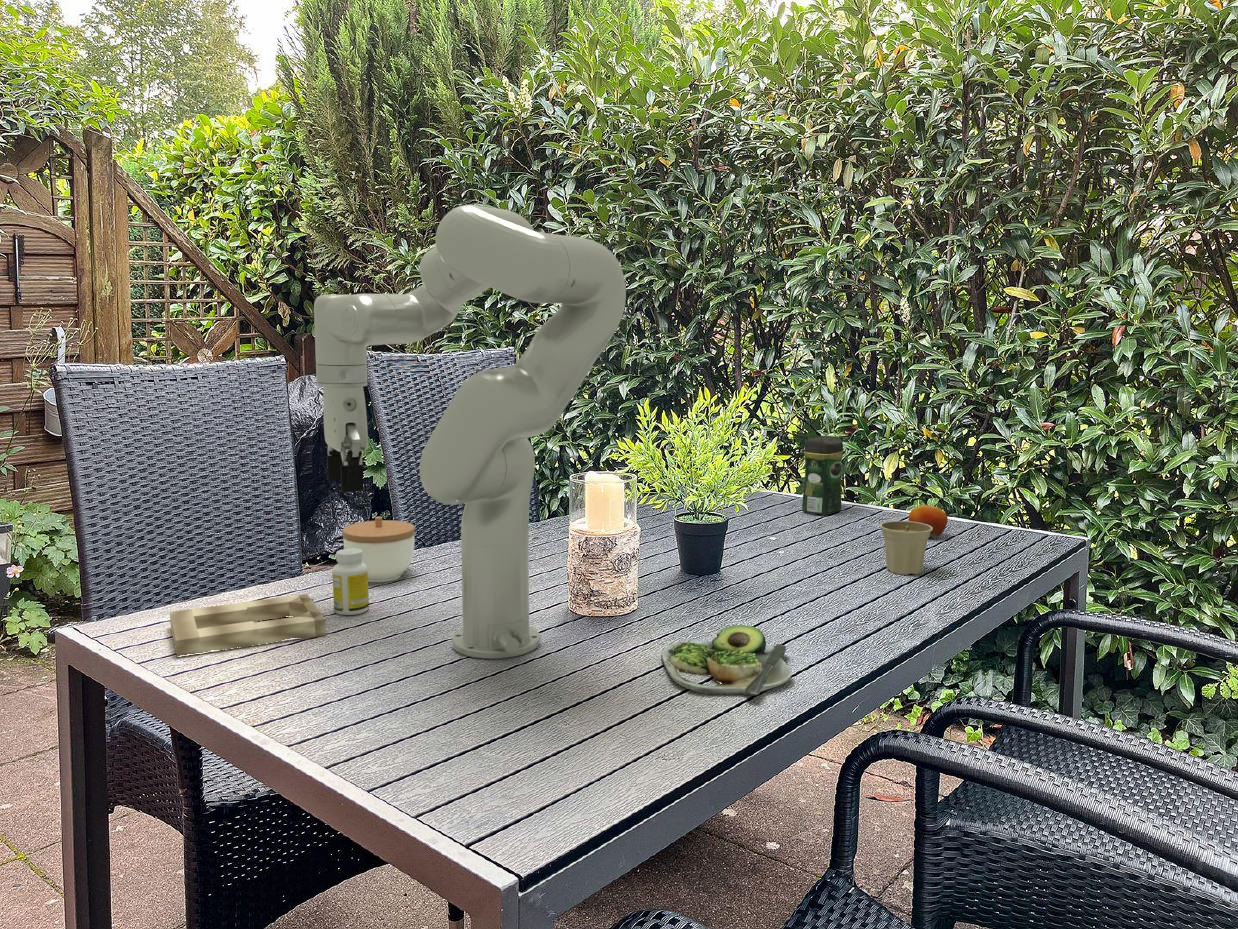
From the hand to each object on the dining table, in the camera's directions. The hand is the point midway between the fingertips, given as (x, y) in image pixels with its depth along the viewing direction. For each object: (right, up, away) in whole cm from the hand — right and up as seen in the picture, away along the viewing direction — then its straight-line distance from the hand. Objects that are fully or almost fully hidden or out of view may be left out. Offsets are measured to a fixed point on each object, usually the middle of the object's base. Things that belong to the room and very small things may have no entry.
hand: (345, 485), depth 147 cm
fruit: (+110, -13, +56) cm, 124 cm away
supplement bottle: (0, -20, +3) cm, 21 cm away
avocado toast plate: (+58, -25, -20) cm, 66 cm away
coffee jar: (+92, -8, +80) cm, 122 cm away
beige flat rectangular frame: (-13, -22, -7) cm, 26 cm away
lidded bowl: (0, -17, +22) cm, 28 cm away
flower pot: (+96, -17, +29) cm, 102 cm away
